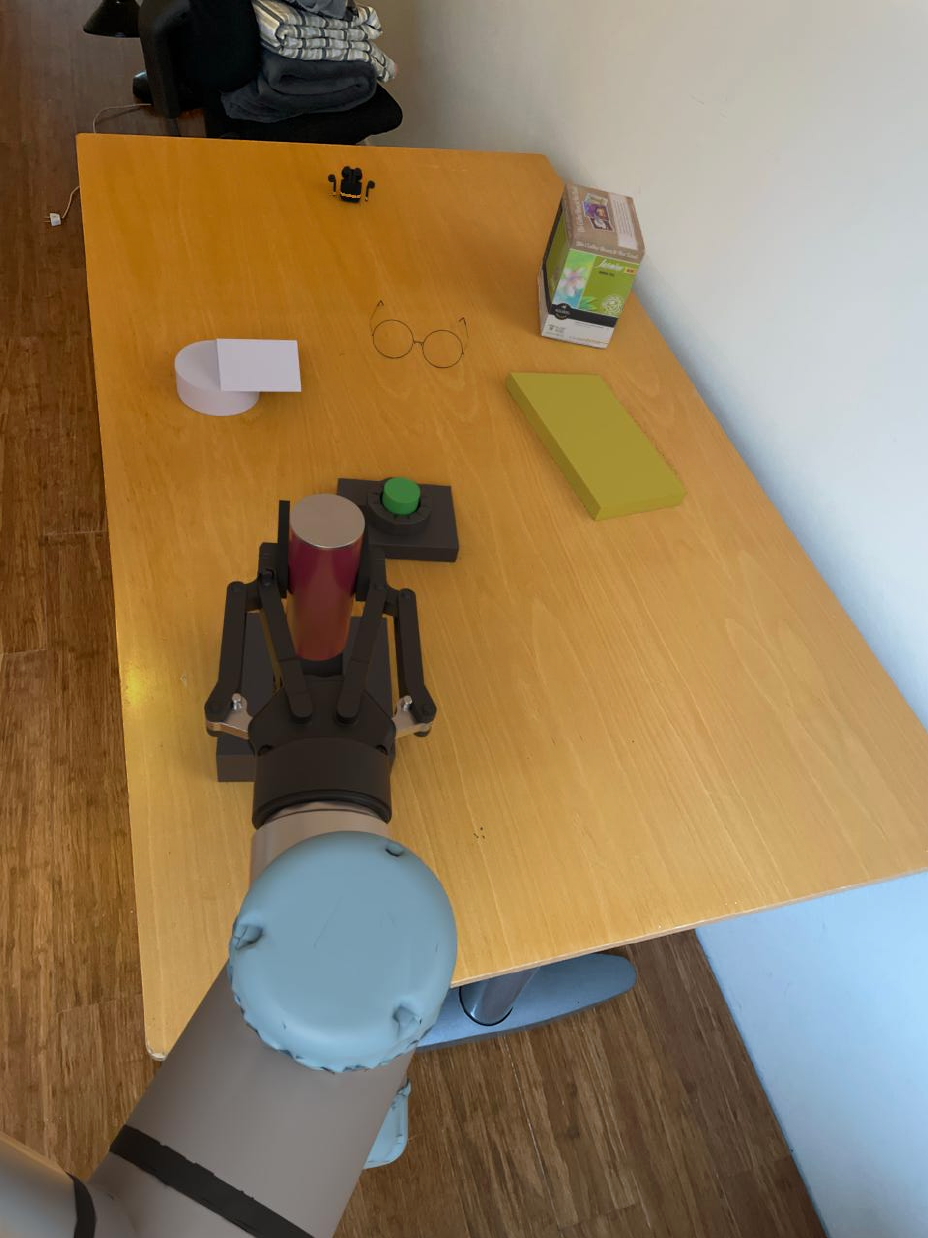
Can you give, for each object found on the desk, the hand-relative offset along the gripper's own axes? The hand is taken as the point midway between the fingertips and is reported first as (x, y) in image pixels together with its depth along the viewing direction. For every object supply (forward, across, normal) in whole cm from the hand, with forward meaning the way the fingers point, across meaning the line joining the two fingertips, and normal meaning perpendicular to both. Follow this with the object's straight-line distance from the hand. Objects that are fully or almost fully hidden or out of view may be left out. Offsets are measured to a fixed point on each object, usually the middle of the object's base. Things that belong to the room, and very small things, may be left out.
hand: (322, 516), depth 58 cm
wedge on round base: (+38, -8, -19) cm, 43 cm away
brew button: (+18, +9, -15) cm, 25 cm away
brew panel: (+18, +9, -19) cm, 28 cm away
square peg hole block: (-4, 0, -19) cm, 20 cm away
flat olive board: (+34, +34, -19) cm, 51 cm away
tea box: (+62, +36, -19) cm, 74 cm away
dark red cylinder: (-5, 0, -7) cm, 9 cm away
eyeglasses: (+52, +14, -19) cm, 57 cm away
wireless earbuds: (+86, +5, -19) cm, 88 cm away
